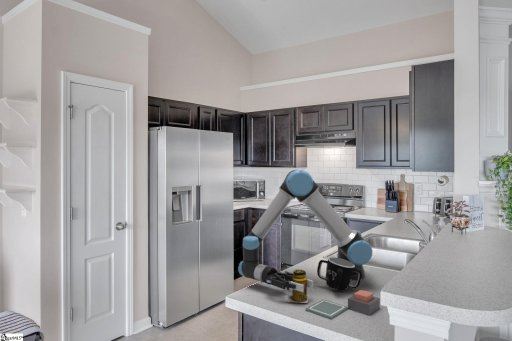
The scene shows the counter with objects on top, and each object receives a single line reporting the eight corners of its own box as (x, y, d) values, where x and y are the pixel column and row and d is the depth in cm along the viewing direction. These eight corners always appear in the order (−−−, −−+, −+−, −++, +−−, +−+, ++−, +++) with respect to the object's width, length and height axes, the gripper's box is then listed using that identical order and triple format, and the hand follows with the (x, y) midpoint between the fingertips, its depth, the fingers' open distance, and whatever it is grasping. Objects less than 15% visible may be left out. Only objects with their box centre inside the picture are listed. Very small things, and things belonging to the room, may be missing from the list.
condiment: (308, 303, 140) (307, 273, 140) (287, 302, 141) (287, 273, 141) (307, 296, 148) (307, 268, 147) (287, 295, 149) (287, 268, 148)
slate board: (323, 301, 144) (323, 299, 144) (348, 309, 136) (348, 306, 136) (305, 310, 135) (305, 308, 135) (331, 319, 127) (331, 317, 127)
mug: (311, 278, 162) (317, 254, 161) (339, 280, 168) (345, 256, 167) (331, 295, 147) (337, 268, 146) (361, 295, 153) (367, 269, 152)
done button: (360, 297, 140) (360, 289, 140) (373, 300, 136) (373, 293, 136) (354, 301, 136) (354, 293, 136) (367, 304, 132) (367, 297, 132)
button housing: (358, 301, 143) (358, 292, 143) (379, 308, 136) (379, 298, 136) (347, 308, 136) (347, 298, 136) (369, 315, 130) (369, 304, 130)
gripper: (279, 277, 164) (320, 289, 148) (251, 288, 150) (294, 302, 134) (279, 261, 164) (320, 271, 148) (251, 270, 150) (293, 283, 134)
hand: (308, 286), depth 141 cm, fingers closed on condiment, 6 cm apart
